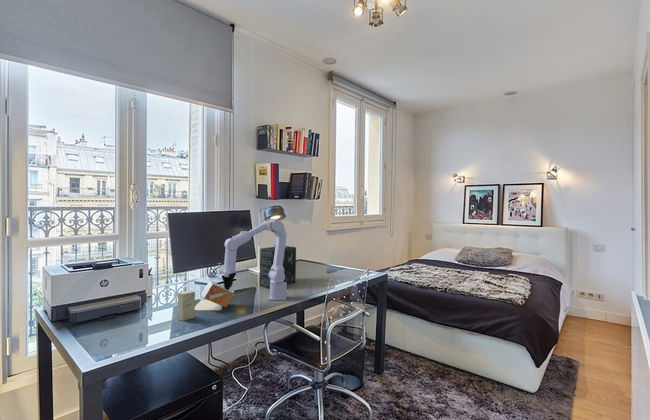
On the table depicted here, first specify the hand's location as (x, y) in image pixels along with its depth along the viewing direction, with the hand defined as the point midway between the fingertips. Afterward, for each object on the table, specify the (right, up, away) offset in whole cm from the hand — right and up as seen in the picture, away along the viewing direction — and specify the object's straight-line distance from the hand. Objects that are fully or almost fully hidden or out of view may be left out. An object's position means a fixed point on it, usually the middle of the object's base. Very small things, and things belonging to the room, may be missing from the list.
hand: (228, 288), depth 170 cm
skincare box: (-14, -10, -19) cm, 25 cm away
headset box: (+20, -8, +44) cm, 49 cm away
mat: (-9, -9, 0) cm, 13 cm away
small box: (+1, -6, 0) cm, 5 cm away
